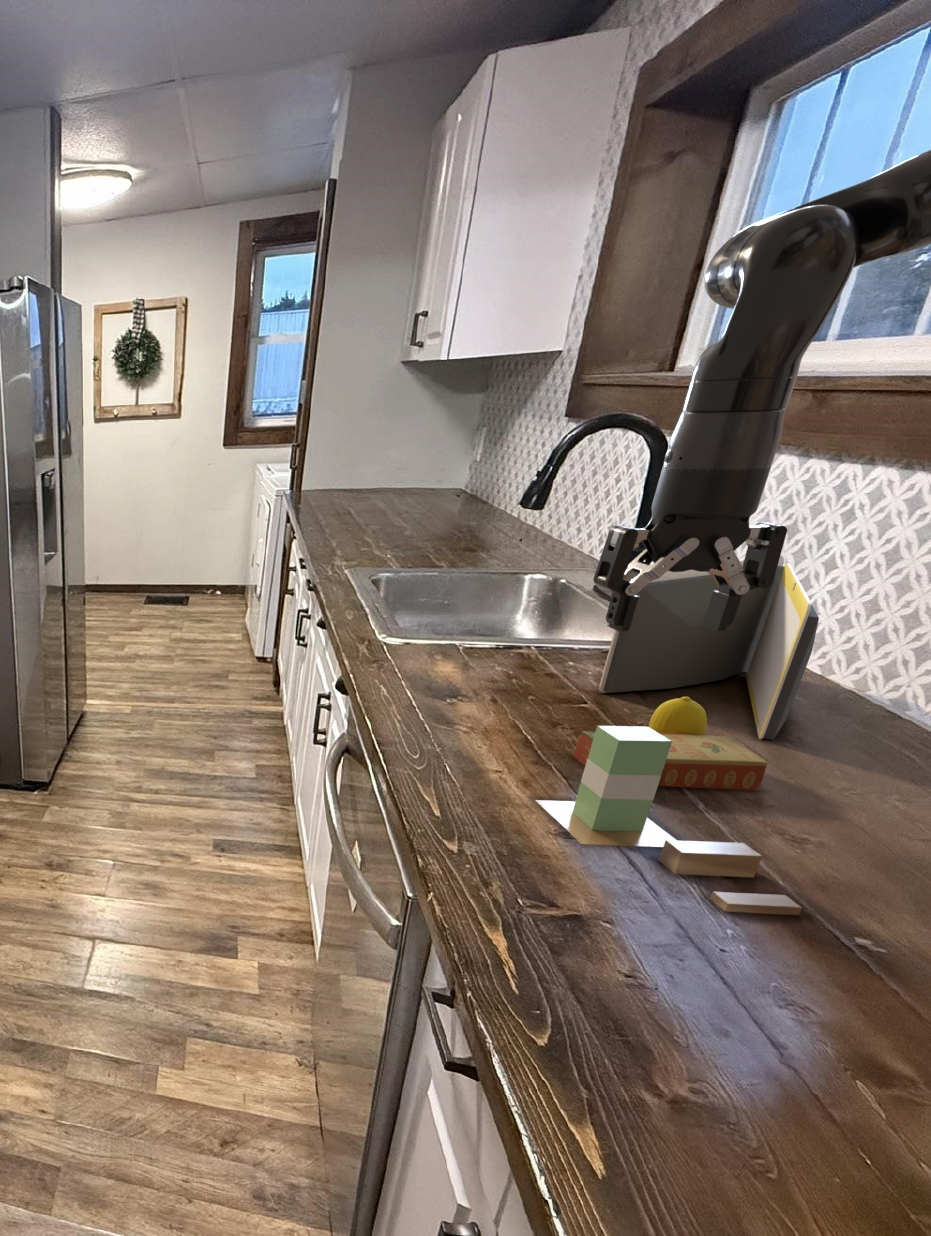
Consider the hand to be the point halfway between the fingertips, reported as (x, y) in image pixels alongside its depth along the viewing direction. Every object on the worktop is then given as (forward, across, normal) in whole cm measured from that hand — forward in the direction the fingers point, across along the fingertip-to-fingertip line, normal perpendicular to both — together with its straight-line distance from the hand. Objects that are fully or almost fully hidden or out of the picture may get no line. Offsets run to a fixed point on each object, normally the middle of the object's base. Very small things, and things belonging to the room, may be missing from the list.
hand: (665, 629), depth 78 cm
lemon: (+23, +18, +20) cm, 36 cm away
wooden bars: (+23, +4, -12) cm, 26 cm away
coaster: (+23, 0, 0) cm, 23 cm away
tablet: (+23, +34, +43) cm, 60 cm away
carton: (+23, +13, +14) cm, 30 cm away
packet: (+17, 0, 0) cm, 17 cm away
